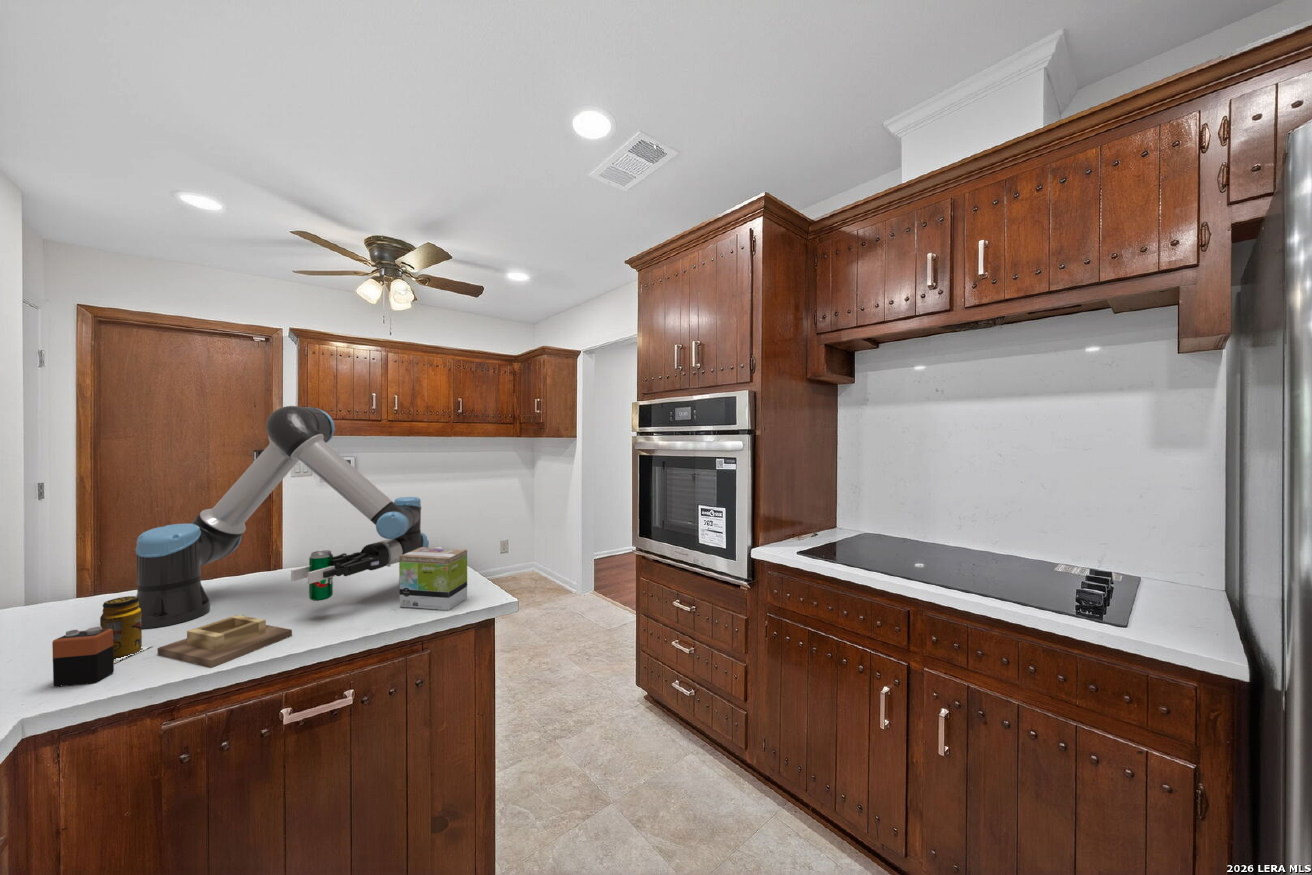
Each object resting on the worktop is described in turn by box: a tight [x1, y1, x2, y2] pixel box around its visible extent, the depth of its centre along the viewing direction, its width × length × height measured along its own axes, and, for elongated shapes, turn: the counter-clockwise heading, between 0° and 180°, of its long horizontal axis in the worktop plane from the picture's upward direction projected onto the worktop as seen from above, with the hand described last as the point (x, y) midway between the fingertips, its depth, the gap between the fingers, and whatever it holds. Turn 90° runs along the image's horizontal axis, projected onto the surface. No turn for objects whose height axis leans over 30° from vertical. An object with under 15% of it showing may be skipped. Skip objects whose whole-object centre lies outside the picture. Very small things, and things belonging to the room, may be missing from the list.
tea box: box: [398, 547, 468, 612], centre depth 135 cm, size 15×10×15 cm, turn 82°
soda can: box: [308, 549, 334, 602], centre depth 125 cm, size 5×5×12 cm
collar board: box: [156, 614, 293, 669], centre depth 109 cm, size 18×16×4 cm
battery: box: [51, 626, 115, 687], centre depth 94 cm, size 4×7×10 cm, turn 104°
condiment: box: [99, 595, 148, 664], centre depth 104 cm, size 7×8×12 cm
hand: (300, 576), depth 120 cm, fingers closed on soda can, 5 cm apart
